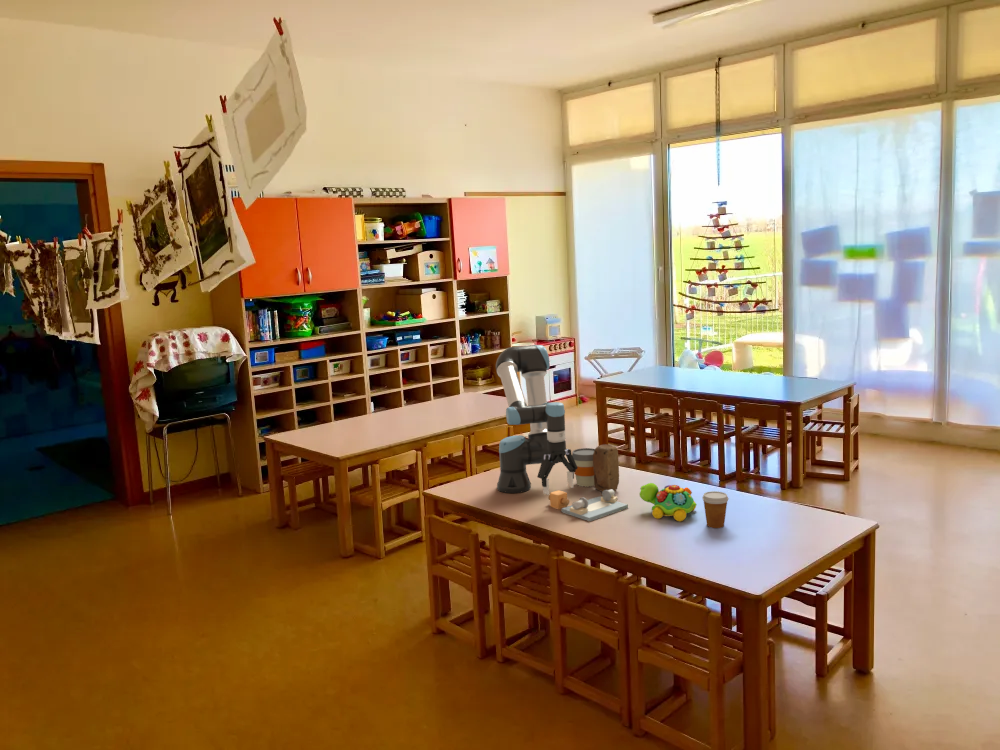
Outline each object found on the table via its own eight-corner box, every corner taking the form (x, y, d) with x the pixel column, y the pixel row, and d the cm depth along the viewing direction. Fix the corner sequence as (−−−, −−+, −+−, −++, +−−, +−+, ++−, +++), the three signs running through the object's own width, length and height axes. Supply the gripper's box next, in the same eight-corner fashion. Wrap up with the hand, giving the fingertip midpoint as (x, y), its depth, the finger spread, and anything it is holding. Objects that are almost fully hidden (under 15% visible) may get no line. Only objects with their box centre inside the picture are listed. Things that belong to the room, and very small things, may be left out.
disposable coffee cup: (716, 531, 294) (716, 500, 292) (697, 524, 302) (696, 494, 300) (734, 525, 299) (734, 495, 297) (714, 519, 307) (714, 489, 305)
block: (621, 490, 347) (620, 446, 344) (609, 494, 343) (608, 449, 339) (603, 485, 356) (601, 442, 352) (591, 489, 351) (589, 445, 348)
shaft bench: (561, 512, 324) (561, 496, 322) (601, 498, 338) (601, 483, 337) (589, 521, 311) (589, 504, 310) (630, 507, 325) (629, 491, 324)
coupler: (562, 510, 325) (562, 496, 324) (546, 505, 333) (545, 491, 332) (571, 507, 328) (571, 493, 327) (555, 502, 336) (554, 488, 335)
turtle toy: (647, 503, 329) (646, 476, 327) (703, 510, 318) (702, 482, 316) (632, 516, 315) (631, 488, 313) (690, 524, 303) (689, 494, 301)
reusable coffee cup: (567, 482, 363) (566, 450, 360) (590, 478, 368) (589, 446, 366) (582, 489, 351) (581, 456, 349) (606, 484, 357) (605, 452, 355)
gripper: (539, 447, 316) (541, 499, 319) (584, 436, 331) (586, 485, 334) (527, 444, 321) (529, 495, 324) (572, 433, 337) (574, 482, 340)
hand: (558, 490), depth 329 cm, fingers open, 13 cm apart
